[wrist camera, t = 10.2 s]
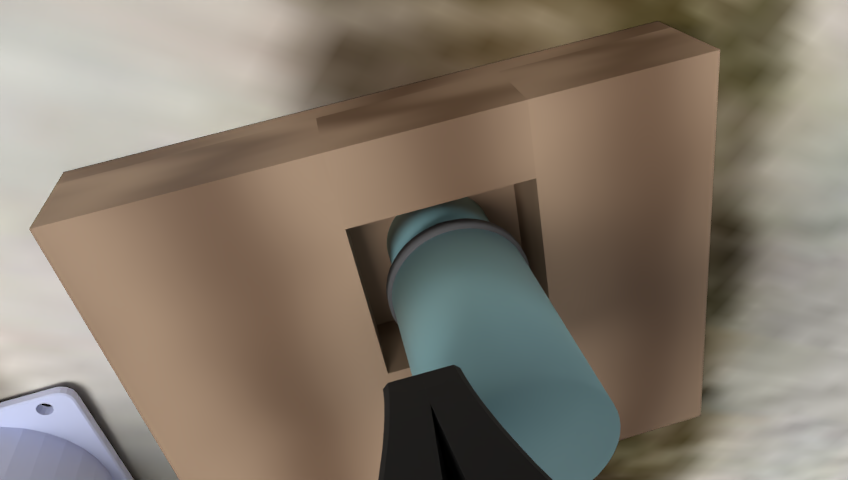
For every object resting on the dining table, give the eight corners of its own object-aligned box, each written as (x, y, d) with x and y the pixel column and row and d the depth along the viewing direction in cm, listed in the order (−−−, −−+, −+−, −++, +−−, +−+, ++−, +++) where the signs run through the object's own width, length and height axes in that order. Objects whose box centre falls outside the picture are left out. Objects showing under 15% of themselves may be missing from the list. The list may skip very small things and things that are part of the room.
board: (230, 483, 27) (226, 558, 24) (63, 172, 19) (29, 229, 16) (657, 358, 28) (700, 415, 25) (658, 21, 20) (720, 49, 18)
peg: (388, 305, 23) (449, 538, 15) (361, 198, 20) (418, 408, 13) (506, 274, 23) (625, 487, 15) (493, 166, 21) (624, 352, 13)
